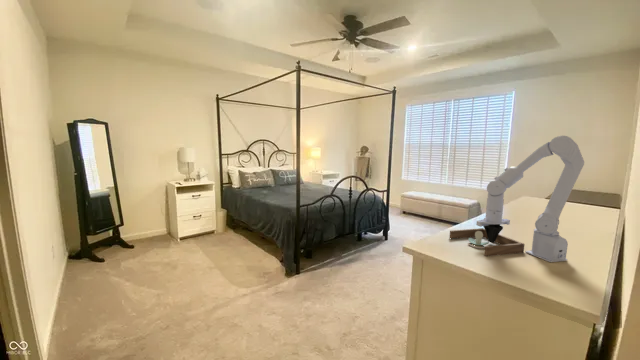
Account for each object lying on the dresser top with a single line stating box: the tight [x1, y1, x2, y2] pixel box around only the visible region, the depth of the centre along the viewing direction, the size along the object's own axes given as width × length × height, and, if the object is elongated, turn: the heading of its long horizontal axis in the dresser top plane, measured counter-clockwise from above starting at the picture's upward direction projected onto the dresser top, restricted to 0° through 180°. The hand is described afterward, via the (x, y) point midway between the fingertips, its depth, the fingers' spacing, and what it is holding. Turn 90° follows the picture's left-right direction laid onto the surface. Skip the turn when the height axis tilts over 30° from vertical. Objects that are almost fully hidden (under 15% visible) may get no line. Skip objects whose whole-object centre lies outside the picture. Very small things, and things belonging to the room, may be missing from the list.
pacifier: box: [467, 231, 490, 250], centre depth 111 cm, size 7×6×6 cm
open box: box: [449, 227, 525, 257], centre depth 112 cm, size 20×17×4 cm
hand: (491, 241), depth 113 cm, fingers closed
